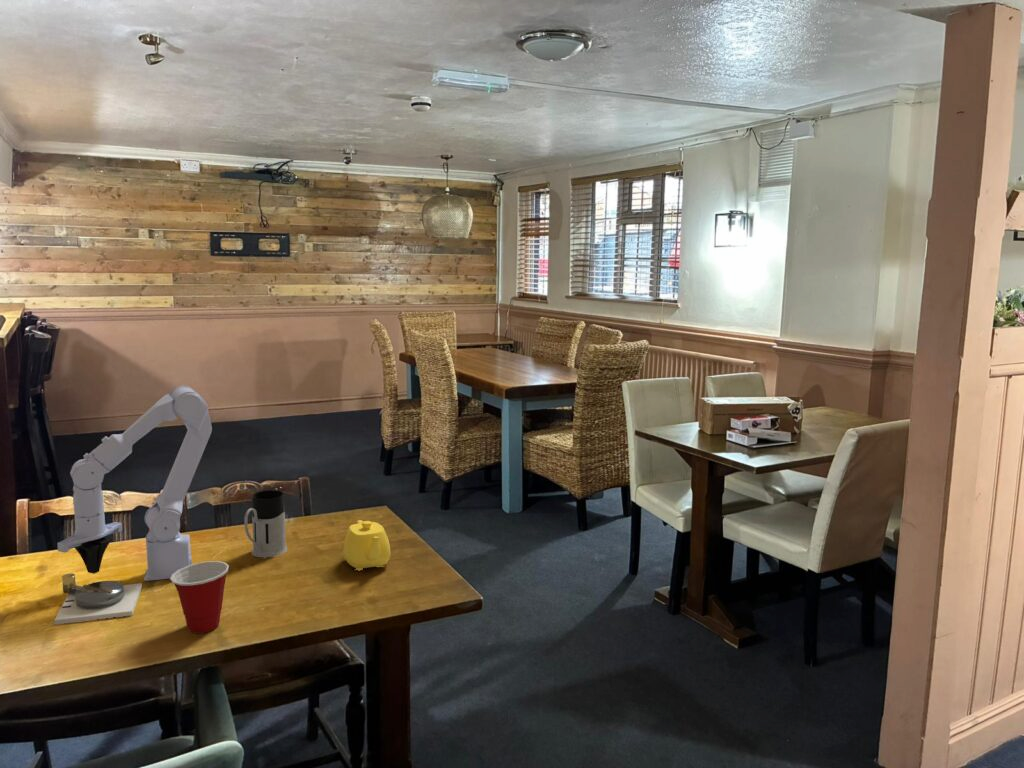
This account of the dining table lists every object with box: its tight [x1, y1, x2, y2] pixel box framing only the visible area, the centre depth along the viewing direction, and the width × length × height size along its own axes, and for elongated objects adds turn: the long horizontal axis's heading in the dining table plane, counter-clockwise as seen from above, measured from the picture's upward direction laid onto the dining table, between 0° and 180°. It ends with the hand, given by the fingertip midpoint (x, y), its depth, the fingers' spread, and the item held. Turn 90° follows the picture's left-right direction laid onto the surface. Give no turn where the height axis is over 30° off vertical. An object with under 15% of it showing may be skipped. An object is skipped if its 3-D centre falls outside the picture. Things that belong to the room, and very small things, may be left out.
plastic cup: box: [169, 560, 230, 634], centre depth 148 cm, size 11×11×12 cm
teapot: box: [342, 519, 391, 569], centre depth 180 cm, size 18×11×11 cm, turn 25°
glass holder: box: [243, 489, 288, 559], centre depth 185 cm, size 9×14×15 cm, turn 166°
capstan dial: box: [61, 573, 125, 608], centre depth 158 cm, size 15×9×4 cm, turn 69°
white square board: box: [53, 583, 143, 626], centre depth 157 cm, size 14×14×1 cm
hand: (93, 571), depth 166 cm, fingers closed
